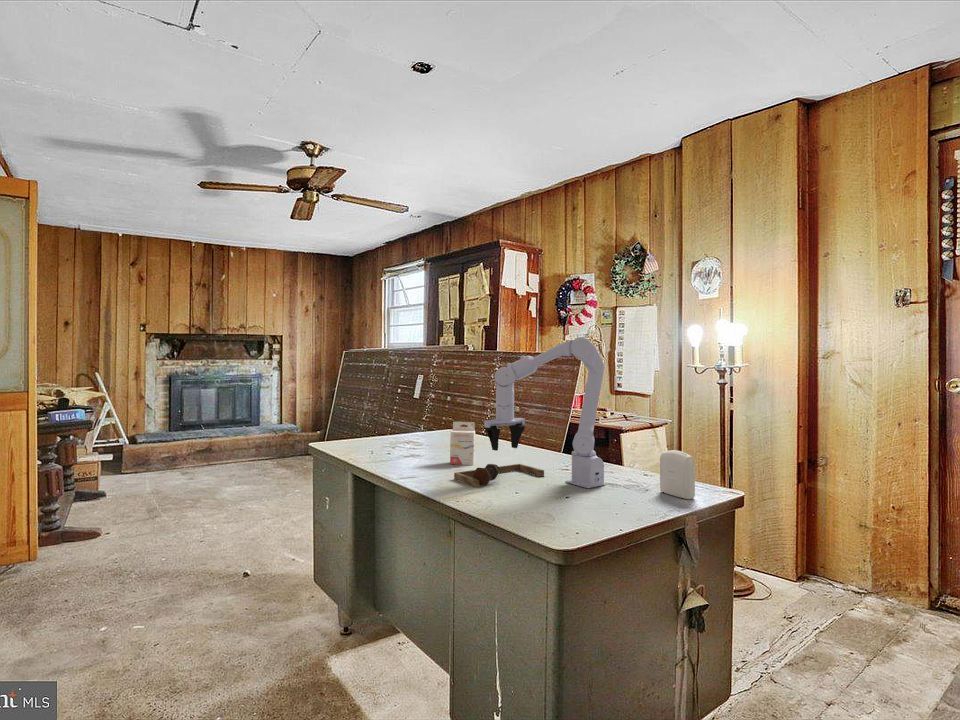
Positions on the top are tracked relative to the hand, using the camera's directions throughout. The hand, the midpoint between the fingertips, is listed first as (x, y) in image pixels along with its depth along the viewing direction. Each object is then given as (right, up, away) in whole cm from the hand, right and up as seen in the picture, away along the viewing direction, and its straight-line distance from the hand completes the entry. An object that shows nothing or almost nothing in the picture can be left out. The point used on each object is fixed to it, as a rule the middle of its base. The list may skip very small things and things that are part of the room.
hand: (504, 449), depth 166 cm
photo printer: (+47, -10, -19) cm, 51 cm away
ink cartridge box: (-14, -9, +24) cm, 29 cm away
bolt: (-5, -10, -1) cm, 11 cm away
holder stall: (-2, -9, +2) cm, 10 cm away
